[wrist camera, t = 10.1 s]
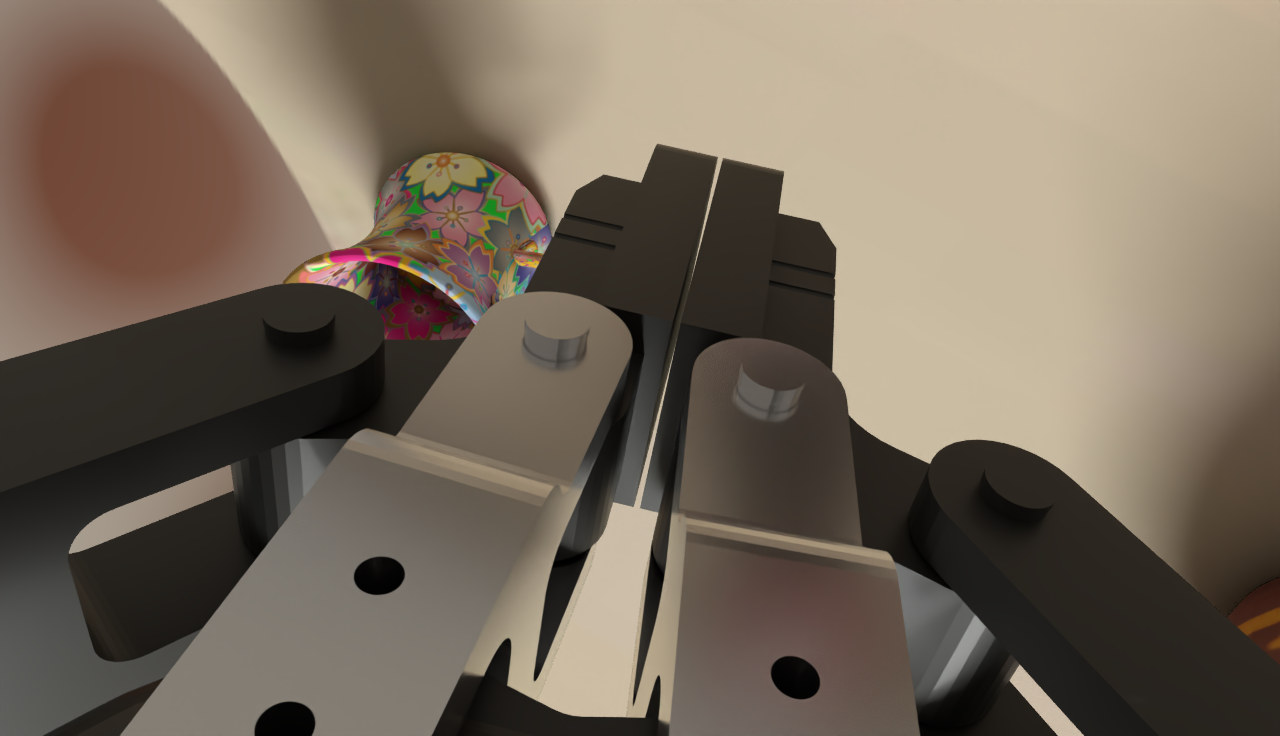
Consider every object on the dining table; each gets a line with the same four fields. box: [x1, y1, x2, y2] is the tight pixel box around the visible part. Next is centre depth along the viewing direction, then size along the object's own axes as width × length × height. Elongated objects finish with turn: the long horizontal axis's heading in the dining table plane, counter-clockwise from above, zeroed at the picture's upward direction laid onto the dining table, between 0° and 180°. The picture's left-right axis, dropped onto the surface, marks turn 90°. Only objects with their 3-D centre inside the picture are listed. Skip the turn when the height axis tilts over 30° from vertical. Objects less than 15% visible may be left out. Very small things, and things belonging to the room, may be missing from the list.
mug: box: [282, 152, 552, 340], centre depth 42 cm, size 12×9×11 cm
